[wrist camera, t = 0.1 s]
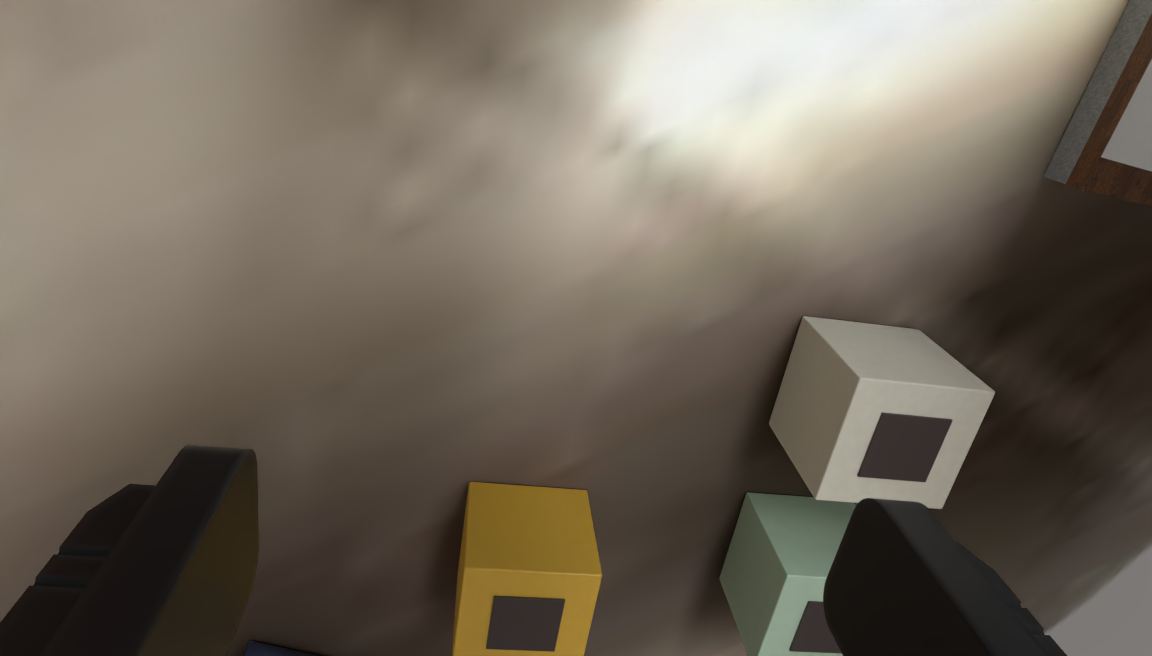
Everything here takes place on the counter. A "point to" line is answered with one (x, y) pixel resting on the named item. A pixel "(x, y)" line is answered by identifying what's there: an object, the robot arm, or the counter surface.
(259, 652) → the small box
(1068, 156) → the white shelf unit
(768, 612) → the sage block
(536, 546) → the mustard block
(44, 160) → the counter surface
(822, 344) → the cream block
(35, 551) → the counter surface
